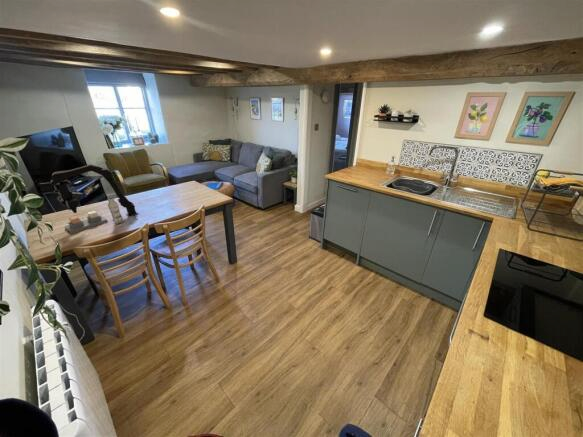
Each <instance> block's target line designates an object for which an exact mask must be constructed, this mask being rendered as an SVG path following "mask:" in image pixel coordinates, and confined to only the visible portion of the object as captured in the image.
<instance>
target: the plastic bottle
mask: <svg viewBox="0 0 583 437" xmlns="http://www.w3.org/2000/svg"><path fill="white" fill-rule="evenodd" d="M107 202H108V203H107V208H108V209H109V211H110V213H111V218H112V222H113V223H114V224H115V225H118V224H122V223H123V222H124V218H123V216H122V214H121V210H120V207H119V202H118V201H117V202H116V201H115V198H114V197H108V198H107Z"/></svg>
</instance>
